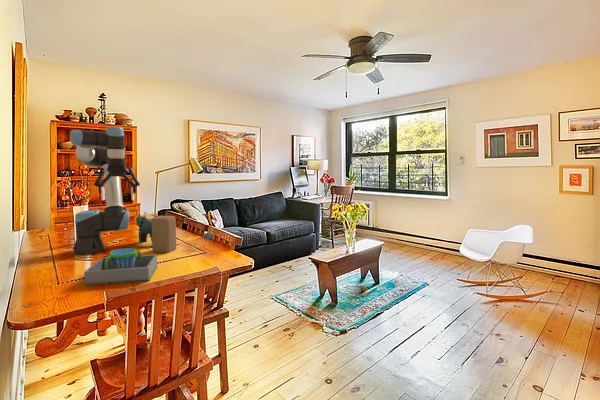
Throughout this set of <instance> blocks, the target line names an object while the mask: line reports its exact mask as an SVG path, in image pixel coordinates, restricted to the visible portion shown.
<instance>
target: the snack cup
mask: <svg viewBox="0 0 600 400" xmlns="http://www.w3.org/2000/svg"><path fill="white" fill-rule="evenodd" d="M135 256H138V261H139V262H141V261H142V253H141V251H139V250H138V249H136V248H132V247H131V248H129V247H127V248H126V247H124V248H118V249H114V250H112V251H110V252H109V255H108V256H107V258H106V260H105V264H104V267H105V269H106V270H109V269H108V265H107V262H108V260H109V259H110V258H111V260H112V264H113V268H114V269H125V268H134V266H135Z"/></svg>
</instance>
